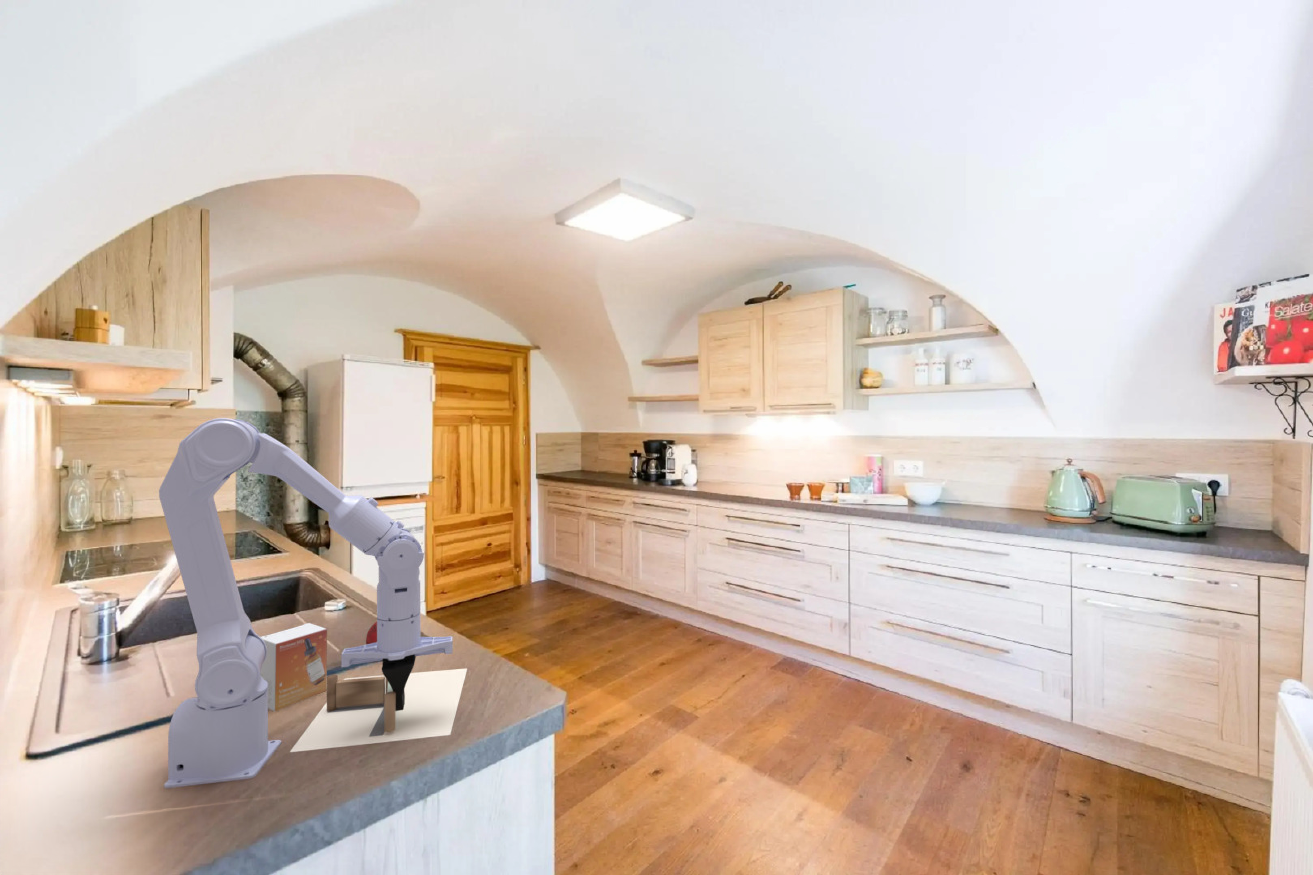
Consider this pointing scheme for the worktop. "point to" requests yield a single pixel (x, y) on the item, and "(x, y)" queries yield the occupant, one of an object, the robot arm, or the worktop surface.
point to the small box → (295, 665)
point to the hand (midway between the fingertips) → (399, 707)
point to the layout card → (422, 716)
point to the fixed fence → (354, 691)
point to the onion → (372, 634)
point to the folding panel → (389, 709)
